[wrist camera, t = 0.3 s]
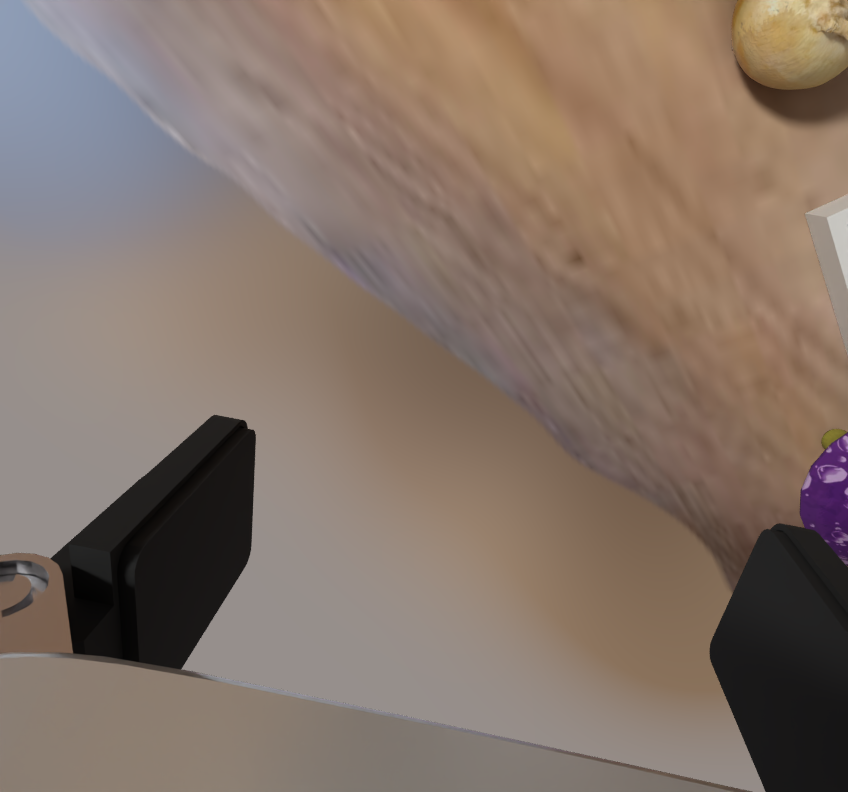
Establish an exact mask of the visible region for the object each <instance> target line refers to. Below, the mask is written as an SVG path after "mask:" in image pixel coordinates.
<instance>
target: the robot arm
mask: <svg viewBox="0 0 848 792" xmlns="http://www.w3.org/2000/svg"><path fill="white" fill-rule="evenodd" d="M255 443H256V435H255V431H254V430H250V429H248V428H247V423H246V422H245V421H244V420H239V419H234V418H229V417H223V416H218V415H213V416H212V417H210V418H209V419H208V420H207V421H206V422H205V423H204V424H203V425H201V426H200V427H199V428H198V429H197V430H196V431H195V432H194V433H192V434H191V435H190V436H189V437H188V438H187V439H186V440H185V441H183V443H181V444H180V445H179V446H178V447H177V448H176V449H175V450H174V451H172V452H171V453H170V454H169V455H168V456H167V457H165V458H164V459H163V460H162V461H161V462H160V463H159V464H158V465H157V466H155V467H154V468H153V469H152V470H151V471H150V472H149V473H147V474H146V475H145V476H144V477H142V478H141V479H140V480H138V481H137V482H136V483H135V484H134V485H133V486H132V487H131V488H129V490H127V491H126V492H125V493H124V494H123V495H122V496H121V497H119V498H118V499H117V500H116V501H115V502H114V503H112V504H111V505H110V506H109V507H108V508H107V509H106V510H105V511H104V512H102V513H101V514H100V515H99V516H98V517H97V518H96V519H94V520H93V521H92V522H91V523H90V524H89V525H88V526H87V527H85V528H84V529H83V530H82V531H81V532H80V533H79V534H78V535H76V536H75V537H74V538H73V539H72V540H71V541H70V542H69V543H67V544H66V545H65V546H64V547H63V548H62V549H61V550H60V551H58V552H57V553H56V554H55V555H54V556H53V557H52V558H48V557H44V556H40V555H37V554H30V553H12V554H5V555H0V792H751V791H747V790H741V789H738V788H733V787H728V786H724V785H720V784H715V783H711V782H706V781H702V780H697V779H693V778H688V777H684V776H679V775H675V774H670V773H666V772H661V771H657V770H652V769H648V768H643V767H639V766H634V765H630V764H625V763H620V762H616V761H611V760H607V759H602V758H598V757H593V756H588V755H584V754H579V753H575V752H569V751H565V750H561V749H556V748H551V747H547V746H542V745H538V744H533V743H529V742H524V741H519V740H515V739H510V738H505V737H500V736H496V735H492V734H487V733H482V732H478V731H473V730H468V729H464V728H459V727H455V726H450V725H445V724H440V723H436V722H431V721H427V720H422V719H417V718H412V717H408V716H403V715H398V714H393V713H389V712H384V711H379V710H374V709H370V708H364V707H360V706H355V705H350V704H346V703H341V702H336V701H331V700H327V699H322V698H317V697H313V696H308V695H303V694H298V693H294V692H289V691H284V690H279V689H275V688H270V687H264V686H260V685H256V684H251V683H246V682H241V681H236V680H231V679H226V678H222V677H217V676H212V675H207V674H202V673H197V672H193V671H186V670H181V669H182V667H183V665H184V664H185V662H186V661H187V659H188V657H189V656H190V654H191V653H192V651H193V649H194V648H195V646H196V645H197V643H198V641H199V640H200V638H201V637H202V635H203V633H204V632H205V630H206V629H207V627H208V625H209V624H210V622H211V620H212V619H213V617H214V616H215V614H216V613H217V611H218V609H219V608H220V606H221V605H222V603H223V601H224V600H225V598H226V597H227V595H228V593H229V592H230V590H231V589H232V587H233V585H234V584H235V582H236V580H237V579H238V577H239V576H240V574H241V573H242V571H243V569H244V568H245V566H246V564H247V562H248V559H249V556H250V551H251V541H252V540H251V539H252V516H253V492H254V467H255ZM710 659H711V663H712V665H713V668H714V670H715V673H716V675H717V677H718V680H719V682H720V684H721V687H722V689H723V692H724V694H725V696H726V699H727V701H728V703H729V706H730V708H731V710H732V713H733V715H734V718H735V720H736V722H737V725H738V727H739V730H740V732H741V734H742V737H743V739H744V741H745V744H746V746H747V748H748V751H749V753H750V755H751V758H752V760H753V763H754V765H755V767H756V770H757V772H758V774H759V777H760V779H761V781H762V784H763V786H764V789H765V791H766V792H848V567H847V566H846V565H845V564H844V562H843V561H842V560H841V559H840V558H839V557H838V555H837V554H836V553H835V552H834V551H833V550H832V548H831V547H830V546H829V545H828V544H827V543H826V541H825V540H824V539H823V538H822V537H821V535H820V534H819V533H817V532H816V531H815V530H811V529H806V528H801V527H796V526H791V525H785V524H780V523H779V524H776V525H775V526H773V527H772V528H771V530H769V529H766V530H764V531H763V532H762V533H761V534H760V536H759V538H758V540H757V542H756V544H755V546H754V548H753V551H752V553H751V555H750V557H749V559H748V562H747V564H746V566H745V568H744V570H743V573H742V575H741V577H740V579H739V581H738V583H737V586H736V588H735V590H734V592H733V594H732V597H731V599H730V601H729V603H728V605H727V608H726V610H725V612H724V614H723V616H722V618H721V621H720V623H719V625H718V627H717V629H716V632H715V634H714V636H713V638H712V641H711V644H710Z"/></svg>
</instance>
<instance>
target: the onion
mask: <svg viewBox="0 0 848 792" xmlns="http://www.w3.org/2000/svg"><path fill="white" fill-rule="evenodd" d="M732 51H734V54H735V56H736V59H737V61H738V63H739V65H740V66H741V68H742V69H743V71H744V72H745V73H746V74H747V75H748V76H749V77H750V78H752V79H753V80H755V81H756V82H758V83H760V84H762V85H764V86H767V87H771V88H776V89H783V90H794V89H806V88H812V87H816V86H819V85H822V84H824V83H826V82H828V81H829V80H831V79H833V78H834V77H836V76H837V75H838V74H840V73H841V72H842V71H844V70H845V69H846V68H847V67H848V0H738V1H737V3H736V6H735V10H734V13H733V18H732Z"/></svg>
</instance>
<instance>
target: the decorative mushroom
mask: <svg viewBox="0 0 848 792" xmlns="http://www.w3.org/2000/svg"><path fill="white" fill-rule="evenodd" d="M822 446H823V447H824V448H825V449H826V450H825V451H824V452H823V453H822V454H821V455H820V457H819V458H818V459H817V460H816V461H815V462H814V463H813V465H812V466H811V468H810V470H809V473H808V475H807V477H806V479H805V482H804V484H803V486H802V489H801V497H800V516H801V519H802V521H803V524H804V527H805V528H806V529H811V530H815V531H816V532H817V533H819V534H820V535H821V537H822V538H823V539H824V540H825V541H826V543H827V544H828V545H829V546H830V547H831V548H832V550H833V551H834V552H835V553H836V554H837V555H838V557H839V558H840V559H841V560H842V561H843V562H844V564H845V565H847V566H848V432H846V431H844V430H841V429H832V430H830V431H828V432H826V433H825V434H824V436H823V438H822Z"/></svg>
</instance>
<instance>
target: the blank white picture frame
mask: <svg viewBox="0 0 848 792" xmlns="http://www.w3.org/2000/svg"><path fill="white" fill-rule="evenodd" d="M805 216H806V219H807V223H808V226H809V229H810V233H811V236H812V239H813V242H814V246H815V249H816V252H817V256H818V259H819V262H820V266H821V269H822V272H823V276H824V279H825V282H826V286H827V289H828V292H829V296H830V299H831V302H832V305H833V309H834V312H835V315H836V319H837V322H838V325H839V329H840V332H841V335H842V339H843V342H844V345H845V349H846V352H847V355H848V194H847V195H845V196H842V197H840V198H838V199H836V200H834V201H831V202H829V203H827V204H825V205H823V206H820V207H818V208H816V209H814V210H811V211H809V212H807V213H805Z"/></svg>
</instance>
